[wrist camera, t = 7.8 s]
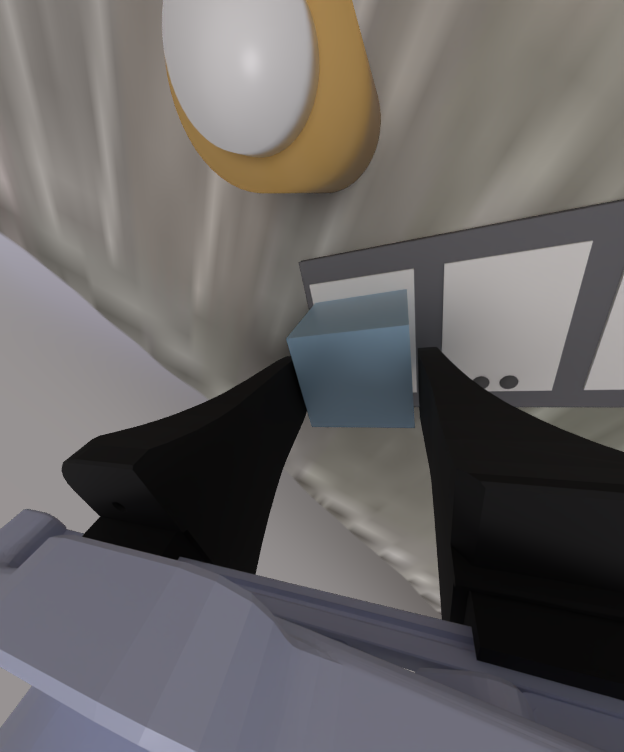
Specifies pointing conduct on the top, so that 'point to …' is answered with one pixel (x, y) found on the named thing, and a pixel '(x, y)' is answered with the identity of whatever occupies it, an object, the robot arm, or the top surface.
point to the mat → (506, 302)
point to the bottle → (273, 91)
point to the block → (356, 362)
